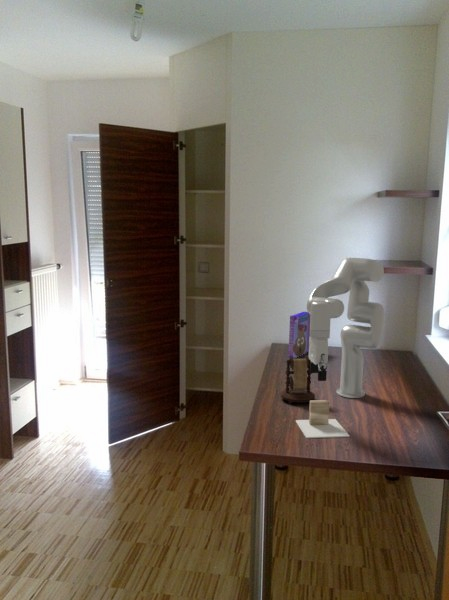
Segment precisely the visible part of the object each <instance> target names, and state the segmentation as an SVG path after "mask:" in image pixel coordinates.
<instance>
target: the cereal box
mask: <svg viewBox="0 0 449 600" xmlns="http://www.w3.org/2000/svg"><path fill="white" fill-rule="evenodd" d="M310 315H311V314H309V313H308V311H301V312H298V313H295V314H291V315H290V316H289V334H288V336H289V338H288V358H290V356H291V355H292V356H293V357H294V358H293V359H298V358H300V357H302V356H304V355H306V354H308V353H309V352H308V351H309V344H310ZM307 352H308V353H307ZM305 353H306V354H305ZM303 354H304V355H303ZM301 355H302V356H301ZM299 356H300V357H299ZM297 357H298V358H297Z"/></svg>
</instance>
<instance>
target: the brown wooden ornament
mask: <svg viewBox="0 0 449 600" xmlns="http://www.w3.org/2000/svg"><path fill="white" fill-rule="evenodd" d="M288 358H289V359H287V360H286V361H285V362H286V368H285V369H286V370H285V375H286V378H285V389H284V390H281V392H280V397H281V398H282V399H283V400H285V401H288V404H289V405H292V403H301V404H302V403H310V400H315V399H316V394H315V393H314V392H312V391H311V384H312V379H311V375H312V374H313V373H310V363H311V362H310V359H309V355H307V354H304V358H293V356H292V355H291V356H290V357H288ZM290 369H291V370H290ZM292 375H293V376H292Z"/></svg>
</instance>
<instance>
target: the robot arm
mask: <svg viewBox="0 0 449 600" xmlns="http://www.w3.org/2000/svg"><path fill="white" fill-rule="evenodd" d="M384 271H385V270H384V266H383V263H381V262H380V261H377V260H373V259H370V258H365V257H364V258H362V257H361V258H360V257H346V258H344V259H343V260H342V261H341V262H340V264H339V265H338V268H337V269H336V271H335V273H334V275H333V276H332V278H331V279H328V280H326V281H325V282H322V283H321V284H319V285H318V286H317V287H315V288H314V289H313V290H312V292H311V294H310V296H309V297H308V299H307V303H306V310H307V311H306V312H308V313H309V314H311V315H310V339H309V352H308V359H310V362H311V363H310V373H312V374H317V381H318V382H323V381H324V382H326V381H327V375H328V374H327V373H328V361H329V360H328V359H329V339H330V338H331V320H332V319H337V318H340V317H341V316H342V315H343V314H344V311H345V305H344V303H343V301H342V300H341V299H337V298H332V297H335V296H336V297H337V296H341V295H344V294H346V293H348V292H349V295H348V302H347V310H346V311H347V312H346V316H347V319H348V320H349V321H351V322H354V323H359V324H360V323H361V324H366V325H367V324H369V325H370V326H366V325H365V326H364V325H359V324H358V325H356V324H346V325H345V326H343V327H342V328H341V331H340V341H341V365H340V380H339V381H340V383H339V388H337V389H336V395H338V396H340V397H344V398H349V399H360V398H363V397H365V395H366V392H365V391H364V390H363V388H362V387H363V373H364V371H363V369H364V353H363V352H362V350H361V349H368V350H377V349H379V348H380V346H381V343H382V339H383V330H384V321H385V308H384V305H382V304H381V303H380V302H379V303H378V302H373V301H372V302H371V301H369V300H370V289H369V286H368V285H367V283H366V282H375V283H377V282H378V283H379V281H381V280H382V279H383V277H384Z"/></svg>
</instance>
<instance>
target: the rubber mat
mask: <svg viewBox="0 0 449 600" xmlns="http://www.w3.org/2000/svg"><path fill="white" fill-rule="evenodd" d="M295 423H296V424H297V426H298V427H299V429H300V431H301V433H302V434H303V435H304V437H305V438H306V439H329V438H331V439H332V438H350V435H349V433H348V431H346V430H345V428H344V427H343V426H342V425H341V423H339V421H338V420H337V419H336V418H329V422H328V425H310V424H309V419H297V420H295Z"/></svg>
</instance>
